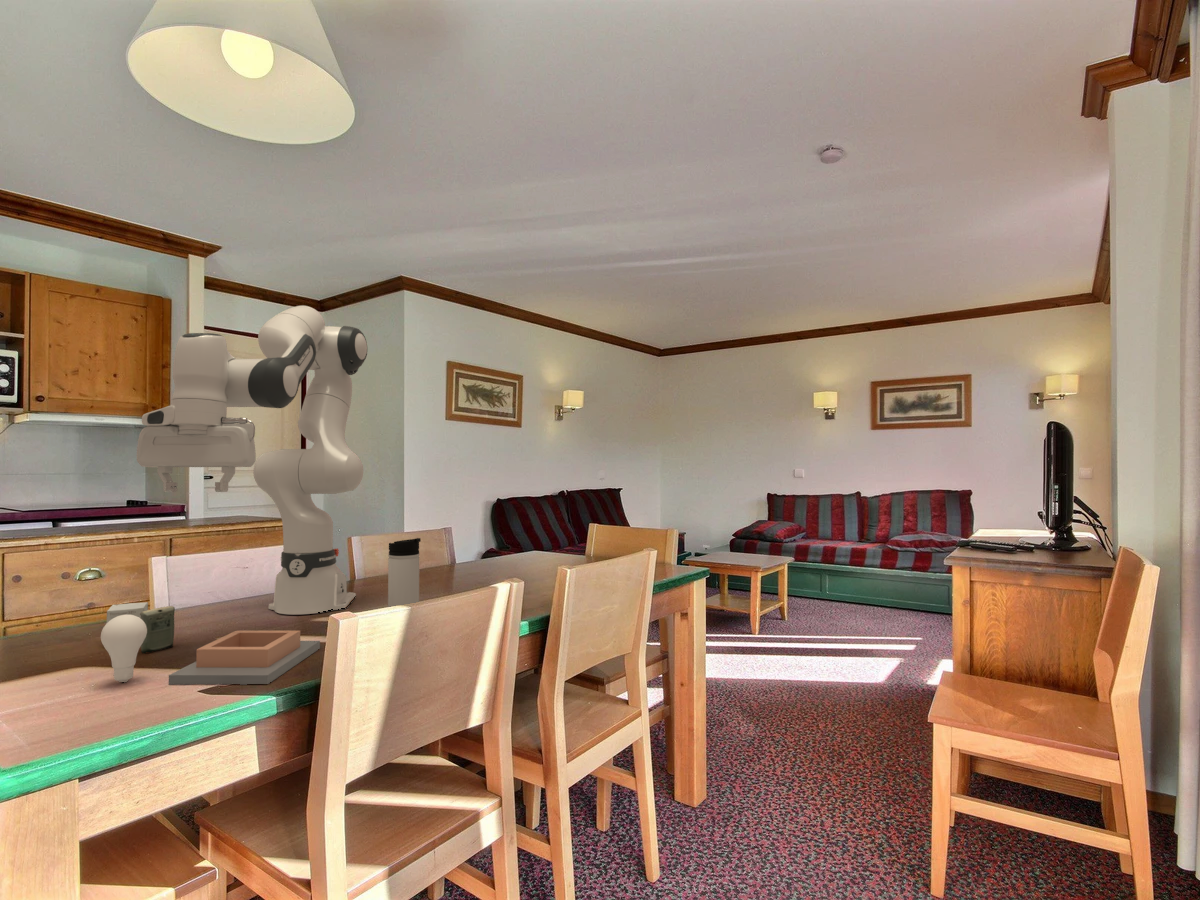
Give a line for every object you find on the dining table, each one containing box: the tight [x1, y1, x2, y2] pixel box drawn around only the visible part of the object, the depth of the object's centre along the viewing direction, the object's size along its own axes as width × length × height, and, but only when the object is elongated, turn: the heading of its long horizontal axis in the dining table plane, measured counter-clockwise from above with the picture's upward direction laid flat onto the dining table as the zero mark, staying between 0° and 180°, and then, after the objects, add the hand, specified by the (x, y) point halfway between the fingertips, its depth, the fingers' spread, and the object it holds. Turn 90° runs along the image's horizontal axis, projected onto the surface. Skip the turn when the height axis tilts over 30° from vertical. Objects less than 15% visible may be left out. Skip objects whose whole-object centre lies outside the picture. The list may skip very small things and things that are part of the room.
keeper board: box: [168, 630, 321, 686], centre depth 115 cm, size 20×16×4 cm
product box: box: [106, 601, 149, 624], centre depth 129 cm, size 6×6×7 cm
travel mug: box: [387, 537, 422, 608], centre depth 136 cm, size 6×7×20 cm
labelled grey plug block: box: [140, 605, 176, 654], centre depth 124 cm, size 6×5×8 cm
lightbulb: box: [100, 615, 147, 683], centre depth 106 cm, size 6×6×11 cm
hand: (195, 491), depth 120 cm, fingers open, 8 cm apart
